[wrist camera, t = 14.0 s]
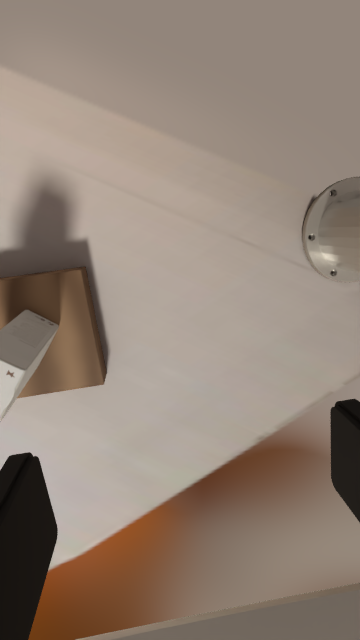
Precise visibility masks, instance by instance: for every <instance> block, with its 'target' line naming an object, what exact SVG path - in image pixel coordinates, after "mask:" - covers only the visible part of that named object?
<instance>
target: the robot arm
mask: <svg viewBox="0 0 360 640" xmlns="http://www.w3.org/2000/svg"><path fill="white" fill-rule="evenodd" d="M330 192H331V196H330ZM309 235H310V239H308V237H309ZM302 241H303V247H304V251H305V254H306V257H307V259H308V261H309V262H310V264H311V265H312V267H313V268H314V269H315V270H316V271H317V272H318V273H320V274H321V275H323V276H324V277H326V278H329V279H331V280H335V281H339V282H356V281H360V177H353V178H348V179H345V180H341V181H338V182H336V183H334V184H333V185H331V186H329V187H328V188H326V189H325V190H324V191H323V192H322V193H321V194H320V195H319V196H318V197H317V198H316V199H315V200H314V202H313V203H312V205H311V207H310V208H309V210H308V212H307V215H306V218H305V220H304V225H303V232H302ZM331 271H332V273H331ZM330 273H331V274H330ZM331 479H332V482H333V485H334V487H335V489H336V491H337V492H338V493H339V495H340V496H341V497H342V499H343V500H344V501H345V503H346V504H347V506H348V507H349V508H350V510H351V511H352V512H353V514H354V515H355V516H356V518H357V519H358V521H359V522H360V402H359V401H358V400H356V399H350V400H345V401H338V402H336V404H335V407H332V408H331ZM56 540H57V524H56V520H55V517H54V513H53V509H52V506H51V502H50V498H49V494H48V491H47V487H46V483H45V480H44V476H43V472H42V468H41V465H40V461H39V458H38V457H37V456H34V457H33V455H32V454H31V453H23V454H16V455H11V456H9V457H8V459H7V460H6V462H5V464H4V465H3V467H2V469H1V470H0V640H28V638H29V634H30V631H31V627H32V624H33V621H34V617H35V614H36V610H37V607H38V603H39V600H40V596H41V592H42V589H43V586H44V582H45V579H46V575H47V572H48V568H49V565H50V561H51V558H52V554H53V551H54V547H55V544H56ZM77 640H360V583H356V584H351V585H345V586H340V587H335V588H330V589H325V590H320V591H314V592H309V593H304V594H299V595H294V596H289V597H284V598H279V599H274V600H268V601H264V602H259V603H254V604H249V605H244V606H238V607H233V608H228V609H223V610H218V611H214V612H208V613H203V614H199V615H194V616H188V617H183V618H179V619H173V620H169V621H164V622H159V623H154V624H149V625H144V626H140V627H135V628H130V629H125V630H120V631H115V632H110V633H106V634H101V635H96V636H91V637H86V638H81V639H77Z"/></svg>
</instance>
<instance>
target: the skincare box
mask: <svg viewBox="0 0 360 640" xmlns="http://www.w3.org/2000/svg"><path fill="white" fill-rule="evenodd" d="M58 328H59V325H57V324H55V323H53V322H51V321H49V320H47V319H45V318H43V317H41V316H39V315H37V314H35V313H33V312H31V311H29V310H24V311H23V312H22V313H21V314H19V315H18V316H17V317H16V318H14V319H13V320H12V321H11V322H10V323H8V324H7V325H6V326H4V327H3V328H2V329H1V330H0V422H1V420H2V419H3V418H4V416H5V415H6V413H7V412H8V410H9V409H10V407H11V406H12V404H13V403H14V402H15V400H16V399H17V397H18V396H19V394H20V393H21V391H22V390H23V388H24V387H25V385H26V384H27V382H28V381H29V379H30V378H31V376H32V375H33V373H34V372H35V370H36V369H37V367H38V366H39V364H40V362H41V360H42V358H43V357H44V355H45V353H46V351H47V349H48V347H49V345H50V343H51V342H52V340H53V338H54V336H55V334H56V332H57V330H58Z"/></svg>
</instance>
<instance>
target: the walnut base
mask: <svg viewBox="0 0 360 640" xmlns="http://www.w3.org/2000/svg"><path fill="white" fill-rule="evenodd" d="M24 310H29V311H31V312H33V313H35V314H37V315H39V316H41V317H43V318H45V319H47V320H49V321H51V322H53V323H55V324H57V325H59V328H58V330H57V332H56V334H55V336H54V338H53V340H52V342H51V343H50V345H49V347H48V349H47V351H46V353H45V355H44V357H43V358H42V360H41V362H40V364H39V366H38V367H37V369H36V370H35V372H34V373H33V375H32V376H31V378H30V379H29V381H28V382H27V384H26V385H25V387H24V388H23V390H22V391H21V393H20V394H19V396H18V397H17V398H21V397H28V396H34V395H40V394H47V393H53V392H59V391H66V390H72V389H78V388H84V387H91V386H97V385H103V384H104V381H105V378H106V374H107V372H106V367H105V362H104V357H103V352H102V347H101V342H100V337H99V332H98V327H97V322H96V317H95V312H94V307H93V302H92V297H91V292H90V286H89V281H88V276H87V271H86V267H79V268H72V269H64V270H57V271H50V272H42V273H35V274H27V275H20V276H13V277H5V278H0V330H1V329H2V328H3V327H4V326H6V325H7V324H8V323H10V322H11V321H12V320H13V319H14V318H16V317H17V316H18V315H19V314H21V313H22V312H23V311H24Z"/></svg>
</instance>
